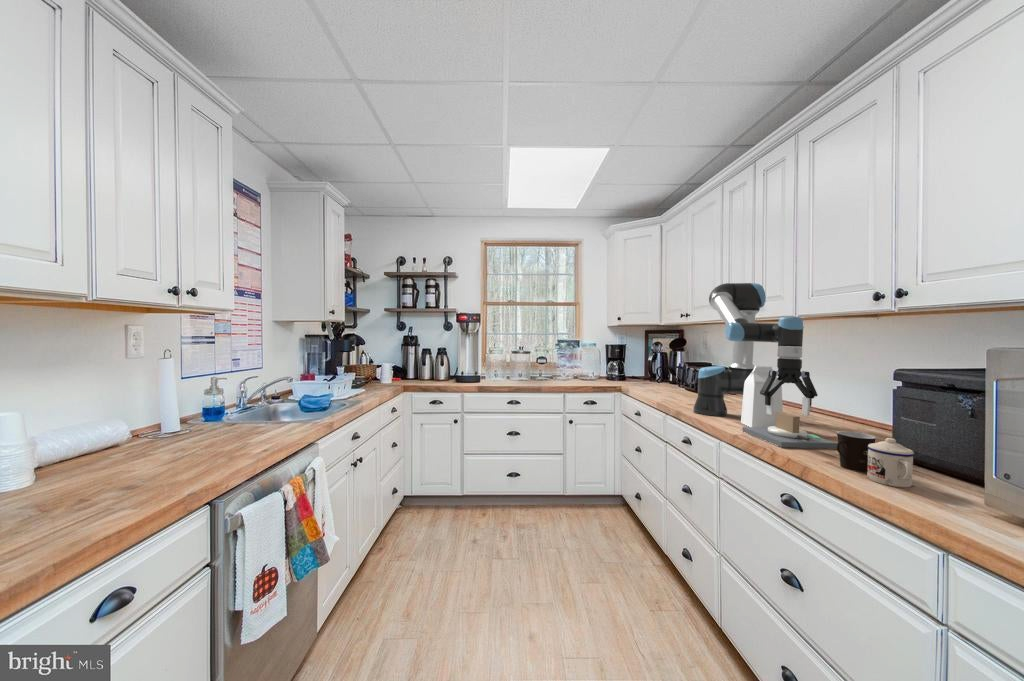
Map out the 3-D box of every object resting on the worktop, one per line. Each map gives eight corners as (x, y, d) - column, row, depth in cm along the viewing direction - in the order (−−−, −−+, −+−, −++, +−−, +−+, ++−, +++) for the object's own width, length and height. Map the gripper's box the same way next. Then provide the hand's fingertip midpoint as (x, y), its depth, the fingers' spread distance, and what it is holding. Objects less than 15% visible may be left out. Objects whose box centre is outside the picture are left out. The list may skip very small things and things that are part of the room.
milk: (751, 428, 164) (753, 366, 163) (740, 422, 175) (742, 364, 175) (783, 430, 161) (785, 368, 161) (770, 424, 173) (772, 365, 172)
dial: (760, 429, 152) (761, 410, 152) (790, 430, 152) (791, 411, 152) (791, 441, 136) (791, 419, 136) (824, 441, 136) (825, 420, 136)
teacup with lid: (858, 474, 110) (859, 433, 110) (896, 477, 108) (898, 435, 108) (888, 490, 98) (890, 444, 98) (932, 494, 96) (934, 448, 96)
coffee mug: (858, 464, 119) (860, 431, 119) (882, 474, 110) (884, 439, 110) (818, 462, 120) (819, 429, 120) (838, 471, 111) (839, 437, 111)
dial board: (742, 431, 157) (742, 426, 157) (791, 432, 157) (791, 427, 157) (781, 447, 135) (781, 441, 135) (837, 448, 135) (838, 442, 135)
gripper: (763, 357, 142) (761, 415, 142) (830, 359, 142) (828, 417, 142) (750, 356, 149) (748, 412, 149) (814, 358, 150) (812, 413, 150)
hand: (787, 414), depth 146 cm, fingers open, 13 cm apart
